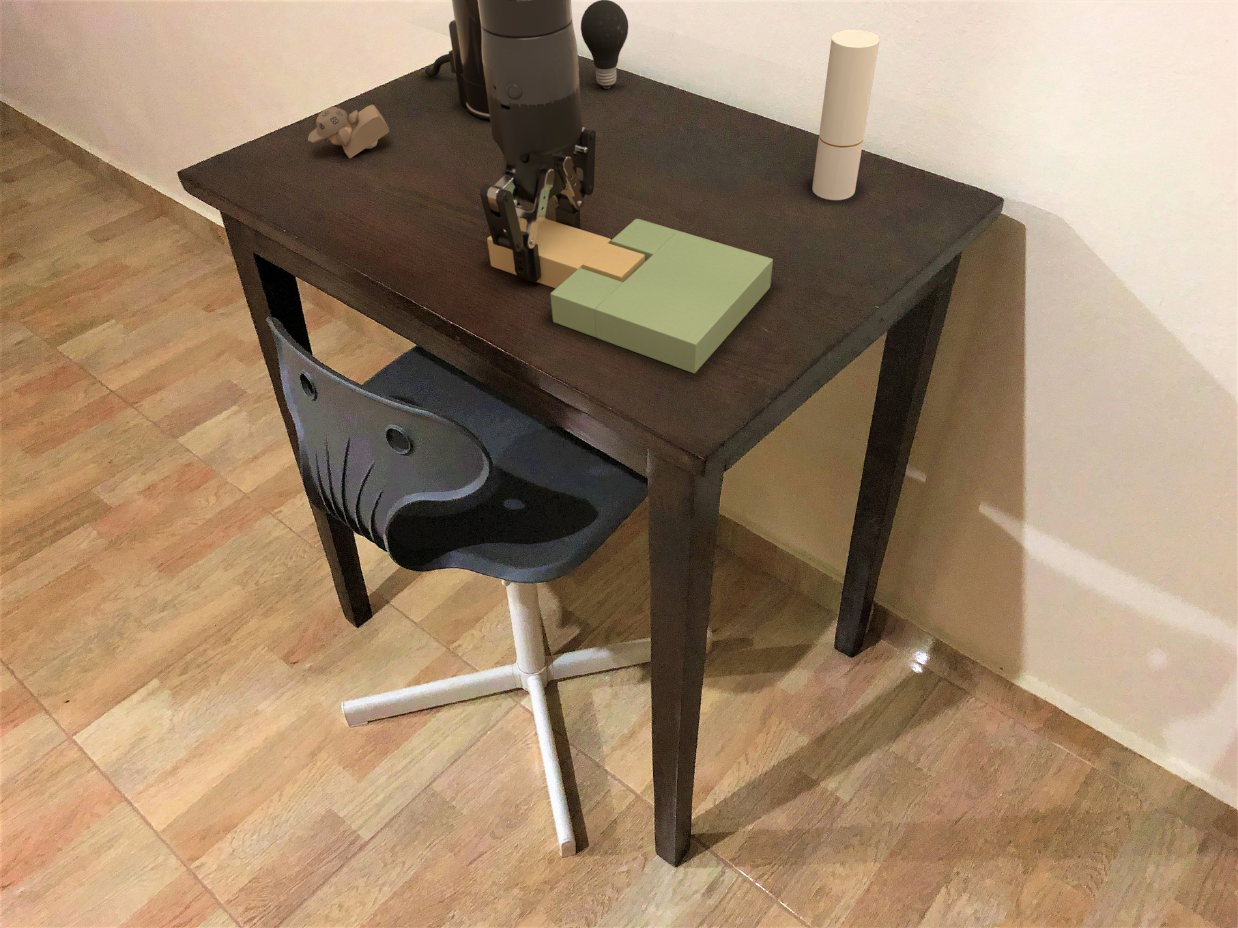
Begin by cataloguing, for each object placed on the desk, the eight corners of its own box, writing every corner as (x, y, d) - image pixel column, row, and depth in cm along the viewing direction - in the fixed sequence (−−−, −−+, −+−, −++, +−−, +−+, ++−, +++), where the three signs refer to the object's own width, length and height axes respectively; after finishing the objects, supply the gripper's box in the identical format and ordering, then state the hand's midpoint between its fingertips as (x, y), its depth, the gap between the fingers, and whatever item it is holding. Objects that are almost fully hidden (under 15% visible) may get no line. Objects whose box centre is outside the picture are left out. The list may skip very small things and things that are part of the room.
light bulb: (576, 93, 113) (571, 7, 106) (594, 75, 117) (590, -10, 110) (619, 99, 112) (616, 12, 105) (636, 81, 115) (635, -5, 108)
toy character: (332, 165, 106) (297, 123, 102) (389, 125, 106) (357, 82, 101) (338, 181, 104) (303, 139, 99) (396, 140, 103) (364, 96, 99)
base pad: (552, 322, 80) (549, 293, 78) (636, 246, 89) (636, 218, 87) (694, 374, 75) (695, 344, 73) (770, 287, 83) (773, 258, 81)
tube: (854, 201, 93) (879, 49, 83) (811, 198, 94) (830, 46, 83) (855, 181, 96) (879, 30, 86) (813, 178, 97) (832, 28, 86)
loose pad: (490, 266, 87) (486, 238, 85) (525, 239, 90) (522, 211, 88) (617, 310, 81) (616, 281, 79) (649, 279, 85) (649, 250, 82)
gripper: (546, 41, 80) (560, 216, 92) (438, 105, 72) (469, 288, 83) (619, 57, 77) (625, 236, 89) (516, 125, 69) (537, 313, 80)
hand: (549, 260), depth 86 cm, fingers open, 6 cm apart
